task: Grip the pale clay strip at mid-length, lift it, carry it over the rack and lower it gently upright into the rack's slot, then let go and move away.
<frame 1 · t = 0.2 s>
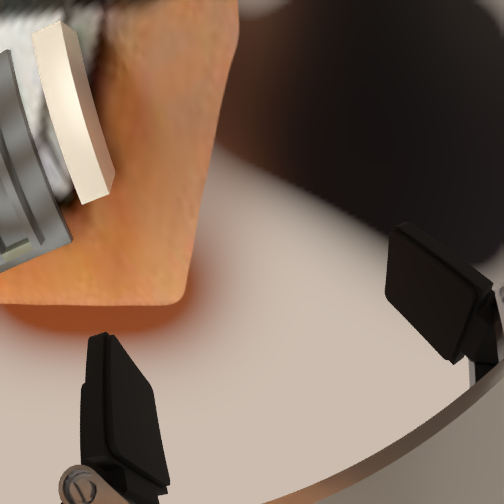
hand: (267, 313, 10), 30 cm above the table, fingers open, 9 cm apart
clay strip: (82, 106, 29), on the table
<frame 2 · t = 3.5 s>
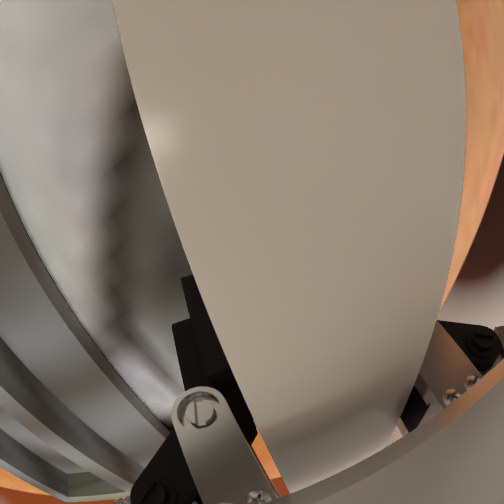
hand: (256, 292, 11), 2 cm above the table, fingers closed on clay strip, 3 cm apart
clay strip: (239, 261, 12), on the table, touching gripper
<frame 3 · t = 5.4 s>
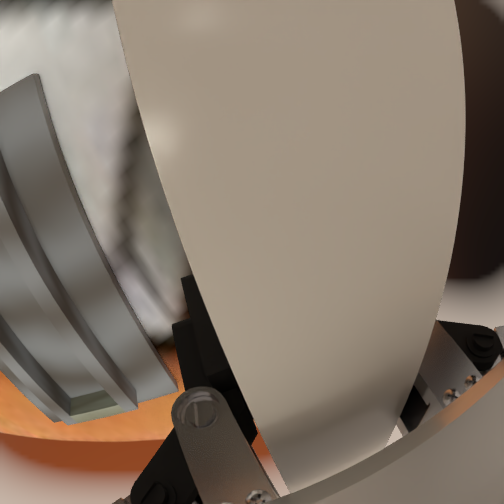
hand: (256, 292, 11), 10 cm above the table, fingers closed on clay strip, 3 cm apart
clay strip: (238, 261, 12), point 8 cm above the table, touching gripper
rack: (28, 297, 18), on the table
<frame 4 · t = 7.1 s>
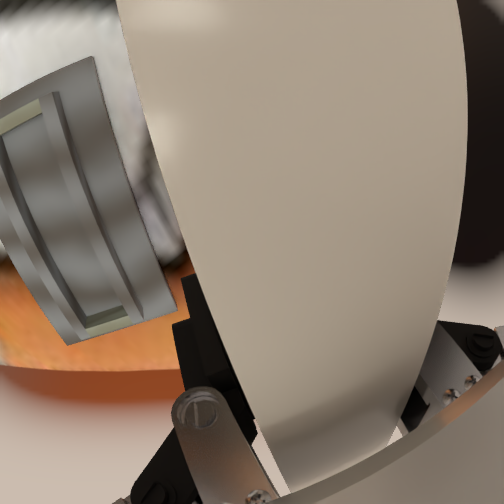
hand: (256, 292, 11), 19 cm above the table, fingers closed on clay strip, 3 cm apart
clay strip: (239, 261, 12), point 17 cm above the table, touching gripper
rack: (65, 222, 25), on the table
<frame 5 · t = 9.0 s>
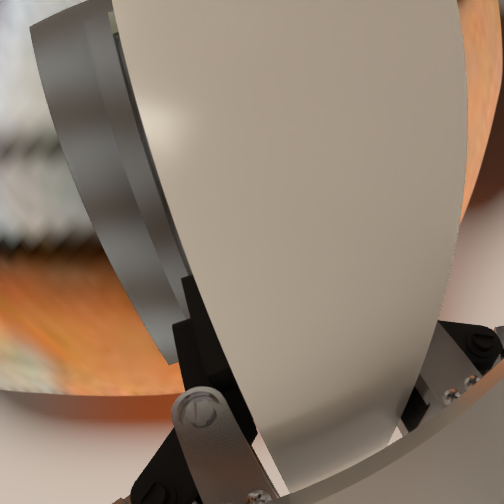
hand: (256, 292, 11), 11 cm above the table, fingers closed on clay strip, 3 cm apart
clay strip: (239, 262, 12), point 8 cm above the table, touching gripper
rack: (202, 186, 19), on the table
when the fingers open (4 cm above the table, at t = 10.7 s): clay strip stays where it is, resting on rack.
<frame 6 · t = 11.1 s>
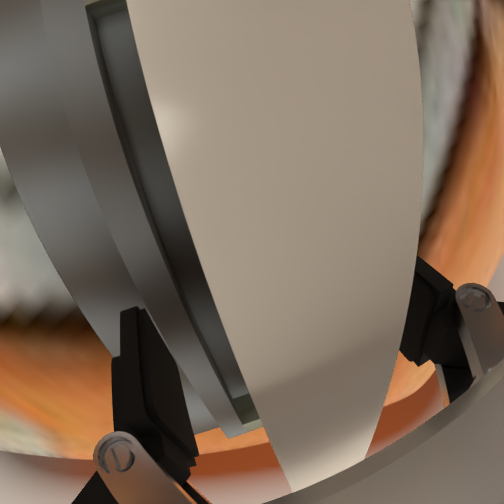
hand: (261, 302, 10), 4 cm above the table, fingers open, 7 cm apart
clay strip: (235, 251, 13), point 1 cm above the table, touching rack
rack: (227, 240, 14), on the table
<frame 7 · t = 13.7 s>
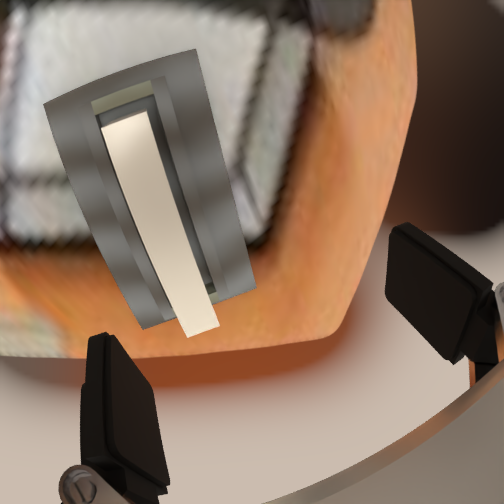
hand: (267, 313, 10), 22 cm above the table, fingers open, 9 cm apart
clay strip: (159, 205, 28), point 1 cm above the table, touching rack
rack: (158, 202, 29), on the table
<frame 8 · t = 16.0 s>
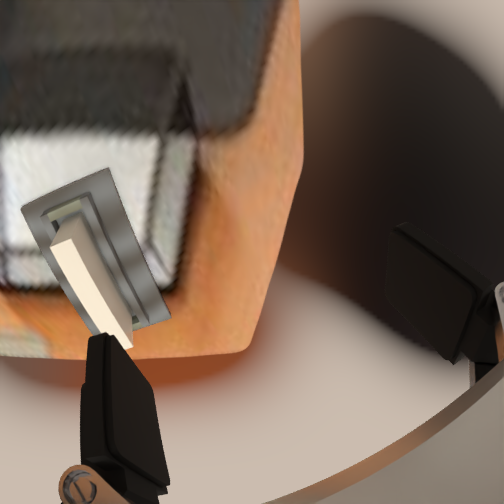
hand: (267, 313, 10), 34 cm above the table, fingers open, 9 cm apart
clay strip: (98, 269, 42), point 1 cm above the table, touching rack
rack: (98, 265, 43), on the table
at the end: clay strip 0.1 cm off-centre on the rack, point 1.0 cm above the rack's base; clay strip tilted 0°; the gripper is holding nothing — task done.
